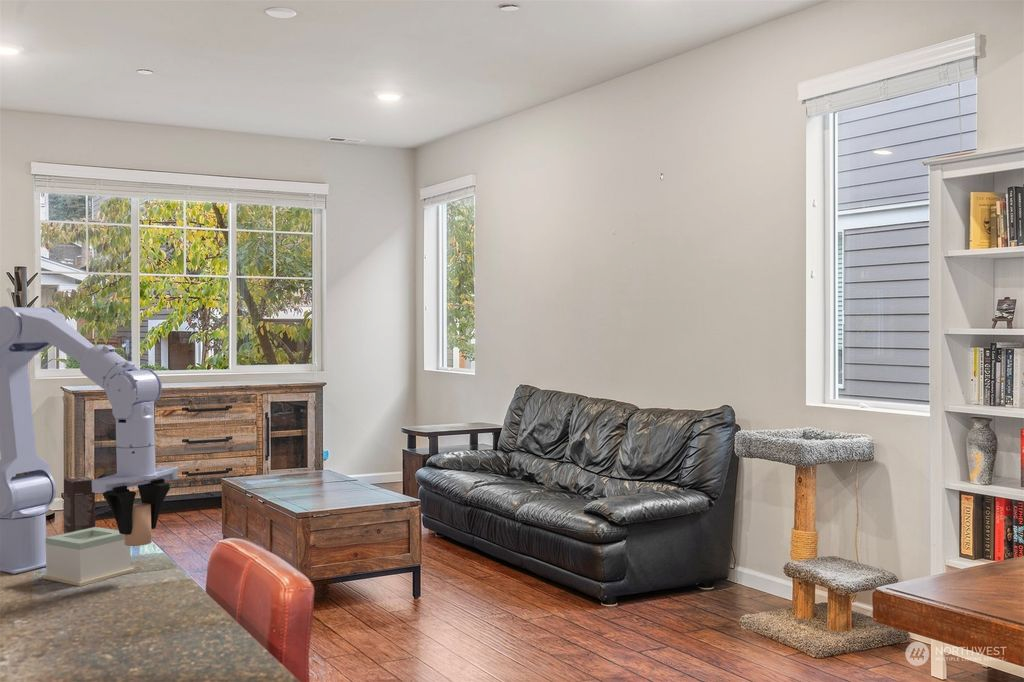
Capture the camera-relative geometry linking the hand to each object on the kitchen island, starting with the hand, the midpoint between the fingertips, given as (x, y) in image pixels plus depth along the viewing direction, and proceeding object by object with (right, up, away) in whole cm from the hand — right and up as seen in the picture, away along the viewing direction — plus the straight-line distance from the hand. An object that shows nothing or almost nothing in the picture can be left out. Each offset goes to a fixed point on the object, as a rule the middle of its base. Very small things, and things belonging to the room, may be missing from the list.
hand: (137, 530), depth 149 cm
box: (-22, -8, +27) cm, 36 cm away
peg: (0, -2, 0) cm, 2 cm away
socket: (-9, -8, +4) cm, 13 cm away
